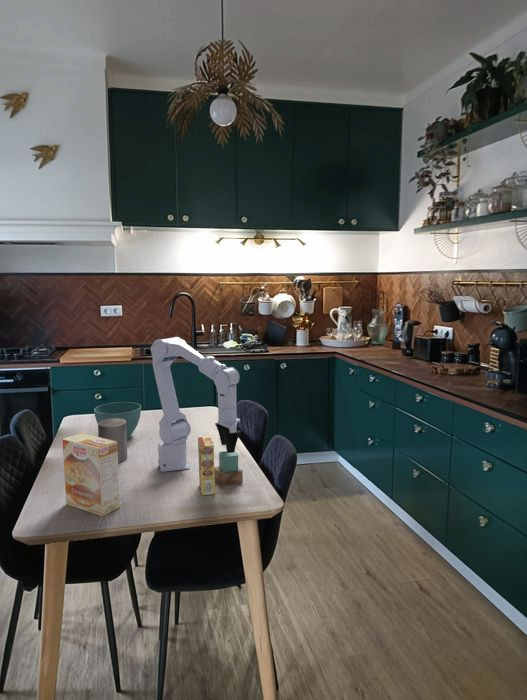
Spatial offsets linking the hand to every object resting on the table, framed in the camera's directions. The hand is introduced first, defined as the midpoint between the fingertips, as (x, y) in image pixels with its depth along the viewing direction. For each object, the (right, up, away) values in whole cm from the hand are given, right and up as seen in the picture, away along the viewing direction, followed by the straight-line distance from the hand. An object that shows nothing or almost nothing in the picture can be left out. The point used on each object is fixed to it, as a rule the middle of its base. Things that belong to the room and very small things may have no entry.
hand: (227, 448), depth 162 cm
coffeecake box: (-37, -13, -17) cm, 43 cm away
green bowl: (-47, -4, +45) cm, 66 cm away
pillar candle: (-42, -8, +20) cm, 47 cm away
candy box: (-6, -12, -6) cm, 14 cm away
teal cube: (0, -7, +1) cm, 7 cm away
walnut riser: (0, -11, +1) cm, 11 cm away
